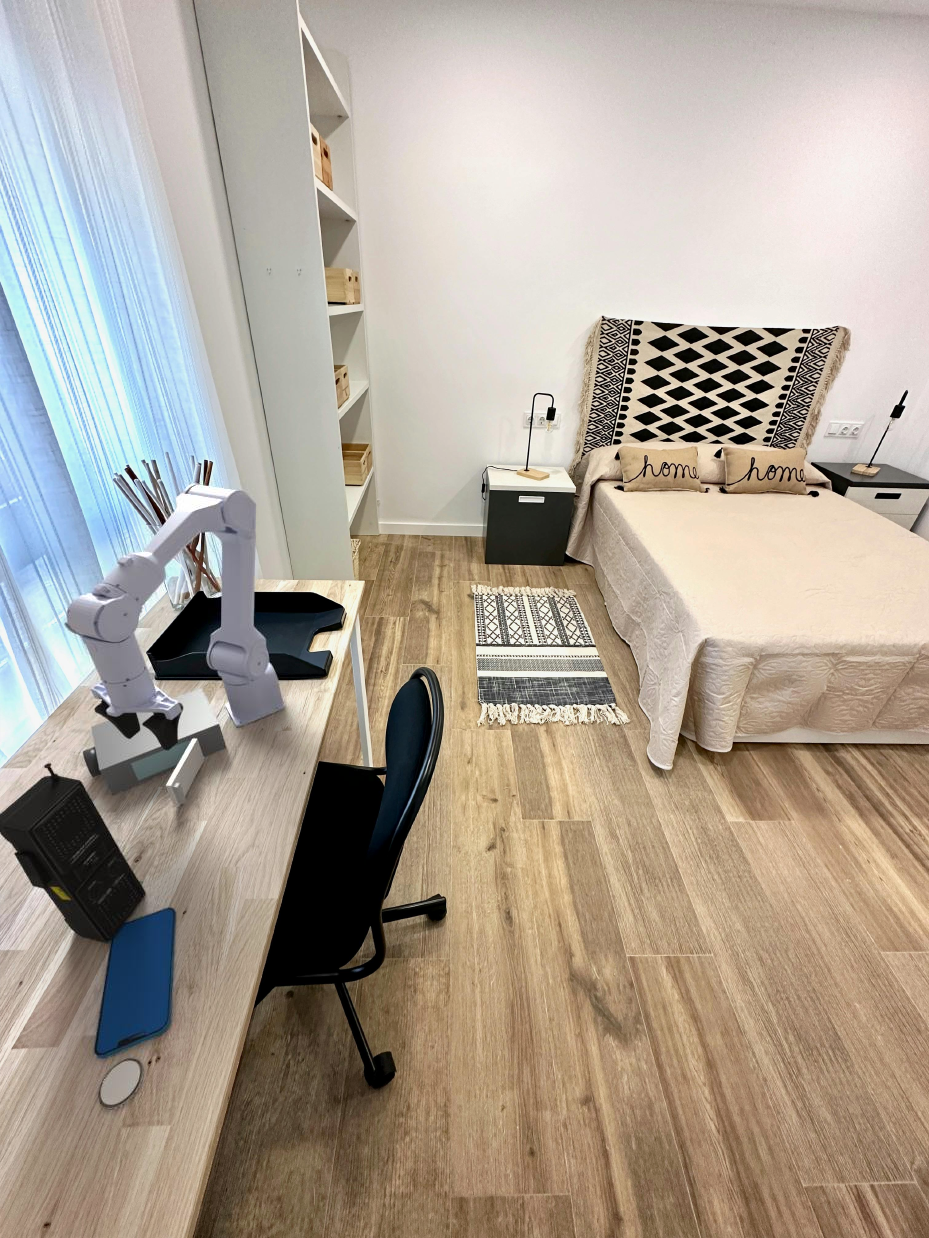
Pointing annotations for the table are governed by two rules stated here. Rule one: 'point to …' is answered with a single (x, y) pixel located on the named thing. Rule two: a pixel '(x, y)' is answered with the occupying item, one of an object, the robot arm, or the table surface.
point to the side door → (185, 773)
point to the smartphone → (137, 983)
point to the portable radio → (72, 856)
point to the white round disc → (120, 1082)
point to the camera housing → (151, 745)
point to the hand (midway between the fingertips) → (152, 740)
